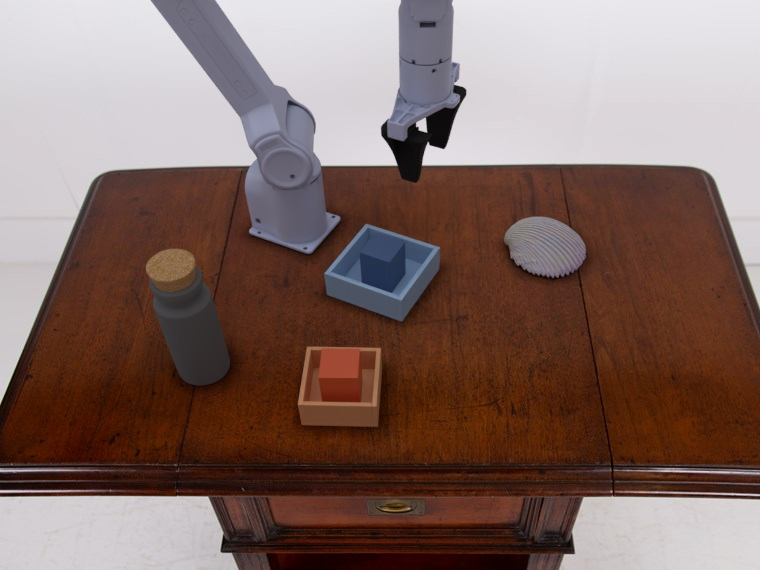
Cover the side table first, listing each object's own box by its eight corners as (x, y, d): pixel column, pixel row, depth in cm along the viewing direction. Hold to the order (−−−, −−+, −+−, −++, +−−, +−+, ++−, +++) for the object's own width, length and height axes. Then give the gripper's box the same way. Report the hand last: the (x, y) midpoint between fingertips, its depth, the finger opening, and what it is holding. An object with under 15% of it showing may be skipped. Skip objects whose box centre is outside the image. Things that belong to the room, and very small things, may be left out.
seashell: (506, 200, 97) (586, 194, 94) (511, 235, 101) (588, 230, 98) (496, 250, 91) (582, 246, 88) (502, 285, 95) (584, 282, 92)
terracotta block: (322, 408, 80) (318, 377, 76) (326, 379, 82) (321, 348, 78) (360, 408, 80) (357, 377, 76) (362, 379, 82) (360, 348, 78)
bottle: (207, 394, 82) (172, 293, 70) (166, 372, 84) (126, 271, 72) (241, 359, 85) (213, 257, 73) (202, 339, 87) (168, 236, 75)
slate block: (361, 284, 92) (359, 252, 88) (377, 264, 94) (375, 232, 90) (390, 294, 90) (389, 262, 86) (405, 273, 93) (405, 241, 89)
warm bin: (301, 425, 79) (297, 404, 76) (310, 367, 84) (306, 346, 81) (378, 427, 79) (376, 406, 76) (382, 369, 84) (381, 347, 81)
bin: (326, 295, 91) (324, 273, 88) (367, 245, 97) (366, 223, 94) (401, 322, 88) (401, 300, 85) (439, 269, 94) (440, 247, 91)
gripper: (429, 93, 76) (427, 204, 87) (486, 30, 84) (478, 139, 95) (368, 77, 78) (373, 188, 89) (429, 18, 86) (427, 126, 97)
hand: (424, 162), depth 92 cm, fingers open, 7 cm apart
